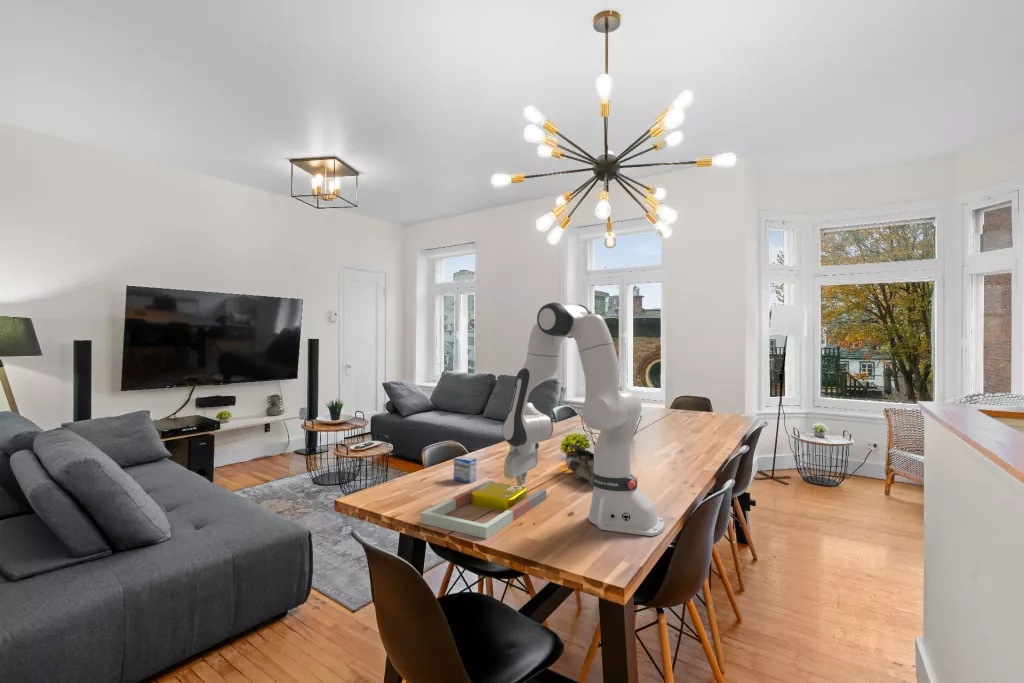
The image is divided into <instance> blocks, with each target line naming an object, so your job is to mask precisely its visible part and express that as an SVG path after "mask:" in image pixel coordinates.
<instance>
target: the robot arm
mask: <svg viewBox="0 0 1024 683" xmlns="http://www.w3.org/2000/svg"><path fill="white" fill-rule="evenodd" d="M565 338H568V339H571V338H573V339H574V341H575V342H576V346H577V351H578V354H579V358H580V362H581V366H582V370H583V376H584V381H585V382H584V384H585V386H584V387H585V389H584V390H585V391H584V392H585V394H584V396H585V397H584V402H583V404H582V407H581V417H582V420H583V422H584V424H586V426H587V427H588V428H590V429H592V430H596V431H600V432H599V435H598V437H597V440H596V442H595V443H594V447H593V454H594V471H593V472H592V484H591V489H592V498H591V503H590V509H589V513H588V515H587V519H588V521H589V522H590V523H592V524H593V525H595V526H596V527H597V528H598V529H599V530H602V531H609V532H616V533H624V534H633V535H640V536H648V537H653V536H657V535H659V534H661V533H662V532H663V531H664V530H665V525H666V523H665V520H664V519H663V518H662V517H660V516H658V514H657V513H658V512H657V507H656V504H655V503H654V501H653V500H652V499H651V498H650V497H648V495H646V494H645V493H644V492H642V491H641V490H640V488H638V481H639V480H638V479H639V477H638V476H636V477H635V476H634V475H633V474H632V473H631V472H632V471H631V470H632V467H631V466H632V465H631V464H632V446H633V440H634V436H635V431H636V427H637V426H636V425H637V421H638V419H639V417H640V415H641V412H642V402H641V400H640V398H639V397H638V396H637V395H636V394H635V393H633V392H631V391H627V390H624V389H623V390H621V389H619V374H620V372H621V366H620V362H619V359H618V355H617V352H616V348H615V343H614V340H613V337H612V335H611V332H610V329H609V327H608V324H607V323H606V321H605V319H604V318H603V316H601V315H599V314H596V313H593V312H592V310H590V308H588V307H587V306H585V305H582V304H576V303H571V302H555V301H554V302H550V303H547V304H544V305H542V306H541V308H540V309H539V310H538V313H537V316H536V323H534V325H533V326H532V328H531V331H530V335H529V340H528V344H527V345H528V346H527V352H526V353H527V354H526V359H525V362H524V363H523V366H522V368H521V369H520V370H519V371H518V372H517V374H516V377H515V380H514V384H513V388H512V392H511V396H510V401H509V407H508V408H507V409H508V411H507V414H506V416H505V419H504V421H503V424H502V429H501V431H502V432H501V433H502V437H503V439H504V440H505V442H507V444H509V449H508V450H509V451H508V453H507V455H506V457H505V460H504V467H503V475H504V477H505V478H507V479H515V480H516V481H517V482H516V483H517V484H516V486H521V487H523V485H525V484H526V478H527V475H528V471H530V470H533V469H535V468H536V467H538V463H539V448H540V442H545V441H549V440H550V439H551V437H552V435H553V432H554V424H553V421H552V418H550V416H549V415H547V414H544V413H542V412H540V411H539V410H538V409H536V407H535V406H534V404H533V402H530V401H528V400H529V396H530V393H531V392H532V390H533V389H534V388H536V387H537V386H539V385H540V384H542V383H544V382H545V381H548V380H549V379H552V377H553V376H554V375H555V374H556V373H557V372H558V368H559V364H560V355H561V345H562V342H563V340H564V339H565Z"/></svg>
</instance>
